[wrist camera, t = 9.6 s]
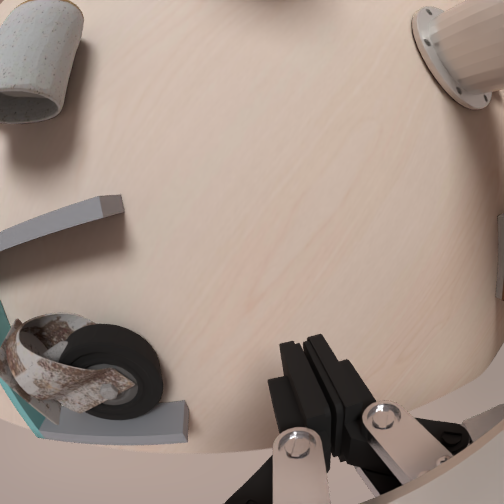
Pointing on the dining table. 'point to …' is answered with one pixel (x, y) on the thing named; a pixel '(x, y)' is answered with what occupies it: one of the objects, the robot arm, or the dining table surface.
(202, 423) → the dining table surface
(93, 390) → the caster wheel
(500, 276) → the white shelf stand
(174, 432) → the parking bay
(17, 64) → the ceramic mug
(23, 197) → the dining table surface
